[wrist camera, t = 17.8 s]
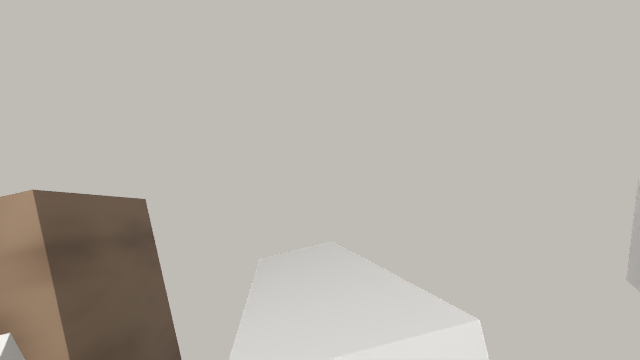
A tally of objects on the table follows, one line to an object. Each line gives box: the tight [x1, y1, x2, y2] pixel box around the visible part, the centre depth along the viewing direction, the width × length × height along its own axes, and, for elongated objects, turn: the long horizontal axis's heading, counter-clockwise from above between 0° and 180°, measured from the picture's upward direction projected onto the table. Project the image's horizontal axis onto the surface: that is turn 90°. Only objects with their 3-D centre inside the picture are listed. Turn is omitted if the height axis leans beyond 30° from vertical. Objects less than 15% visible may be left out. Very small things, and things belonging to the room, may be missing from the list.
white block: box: [229, 241, 489, 360], centre depth 22 cm, size 4×25×4 cm, turn 4°
